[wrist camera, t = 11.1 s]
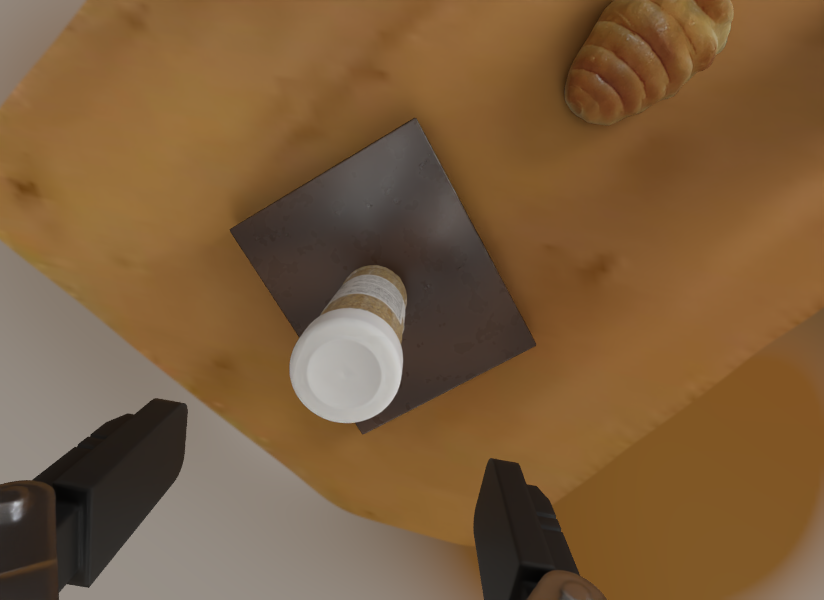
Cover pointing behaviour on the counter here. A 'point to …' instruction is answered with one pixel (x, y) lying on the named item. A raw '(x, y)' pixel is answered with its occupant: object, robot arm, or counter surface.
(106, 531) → the robot arm
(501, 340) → the walnut board
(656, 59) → the pastry
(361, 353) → the sprinkles bottle
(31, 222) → the counter surface
